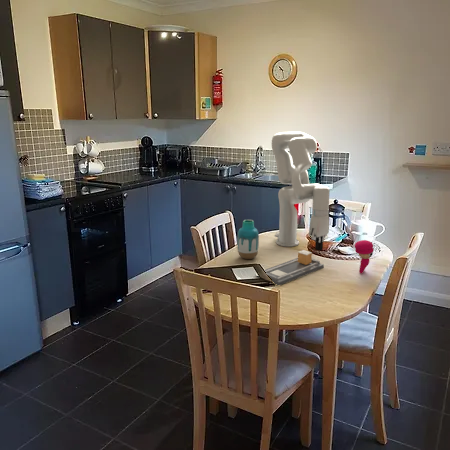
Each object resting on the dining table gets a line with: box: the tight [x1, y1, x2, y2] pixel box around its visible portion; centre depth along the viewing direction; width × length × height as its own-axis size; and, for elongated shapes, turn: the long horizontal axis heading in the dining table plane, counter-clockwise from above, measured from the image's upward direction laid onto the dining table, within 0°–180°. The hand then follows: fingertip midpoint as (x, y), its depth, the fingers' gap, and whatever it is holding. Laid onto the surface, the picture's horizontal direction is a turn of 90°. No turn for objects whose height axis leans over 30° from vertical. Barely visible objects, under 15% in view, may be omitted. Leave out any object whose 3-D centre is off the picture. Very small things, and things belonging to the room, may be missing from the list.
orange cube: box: [297, 249, 313, 265], centre depth 202 cm, size 4×5×5 cm
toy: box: [354, 239, 374, 274], centre depth 194 cm, size 8×8×15 cm
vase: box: [236, 219, 260, 260], centre depth 212 cm, size 11×11×19 cm
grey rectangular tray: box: [263, 257, 325, 286], centre depth 197 cm, size 31×14×3 cm, turn 131°
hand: (318, 249), depth 207 cm, fingers closed
